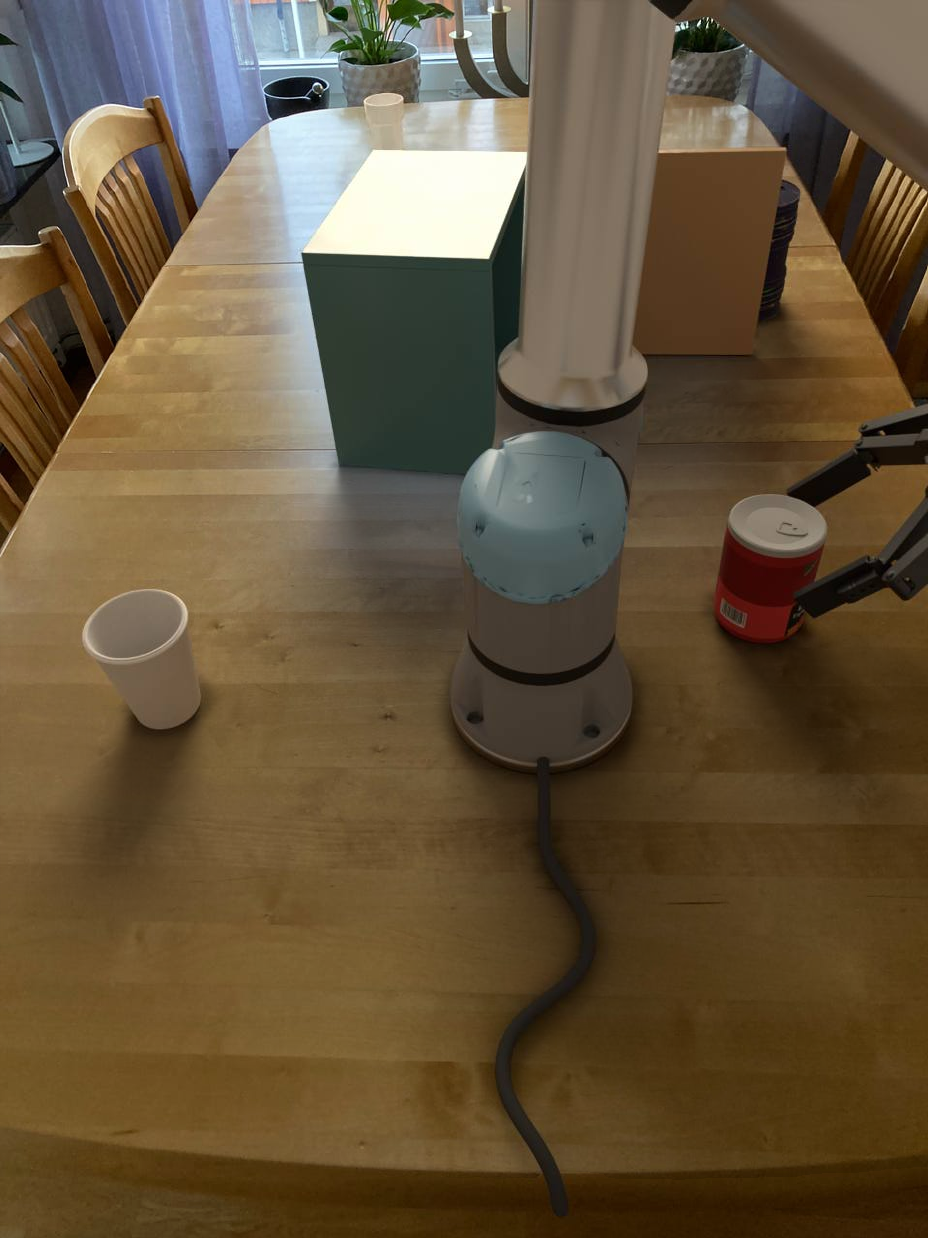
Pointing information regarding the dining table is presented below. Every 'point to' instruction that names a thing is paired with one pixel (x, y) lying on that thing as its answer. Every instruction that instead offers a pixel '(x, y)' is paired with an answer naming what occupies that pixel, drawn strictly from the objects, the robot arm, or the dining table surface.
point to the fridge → (418, 305)
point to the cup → (385, 120)
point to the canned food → (767, 566)
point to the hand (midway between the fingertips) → (798, 550)
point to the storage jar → (779, 250)
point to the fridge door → (707, 250)
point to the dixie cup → (147, 655)
